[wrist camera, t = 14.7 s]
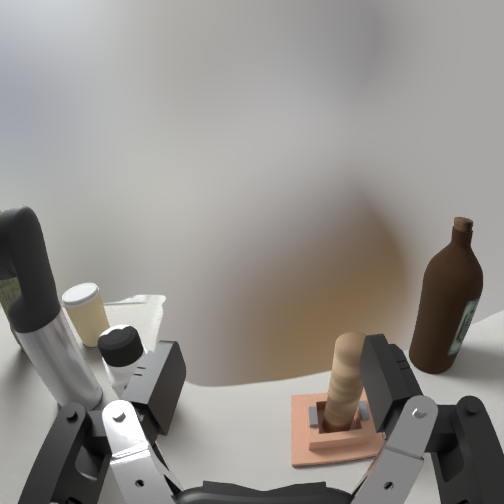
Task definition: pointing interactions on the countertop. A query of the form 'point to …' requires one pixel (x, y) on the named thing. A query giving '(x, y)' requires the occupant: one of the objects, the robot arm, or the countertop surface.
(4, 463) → the countertop surface
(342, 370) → the tall wooden cylinder
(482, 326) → the countertop surface
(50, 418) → the countertop surface
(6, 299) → the thermos
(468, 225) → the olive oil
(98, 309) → the coffee cup
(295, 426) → the clip base
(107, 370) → the container
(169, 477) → the robot arm
